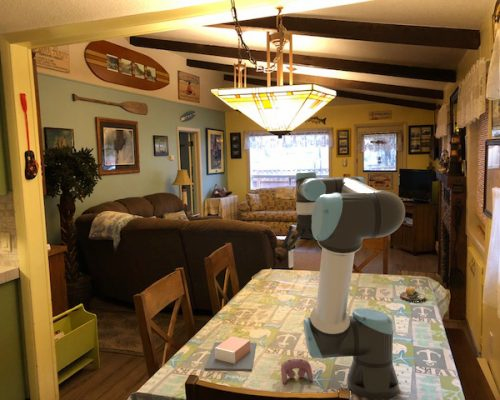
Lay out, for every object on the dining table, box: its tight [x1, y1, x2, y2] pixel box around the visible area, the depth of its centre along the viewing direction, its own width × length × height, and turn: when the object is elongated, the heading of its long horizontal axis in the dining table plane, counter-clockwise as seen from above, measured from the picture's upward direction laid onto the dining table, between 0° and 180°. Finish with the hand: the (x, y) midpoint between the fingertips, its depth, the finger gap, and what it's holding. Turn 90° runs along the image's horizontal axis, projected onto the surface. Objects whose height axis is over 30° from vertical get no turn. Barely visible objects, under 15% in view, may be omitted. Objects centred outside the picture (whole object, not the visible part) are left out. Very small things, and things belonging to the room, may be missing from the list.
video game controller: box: [280, 358, 314, 384], centre depth 134 cm, size 10×5×7 cm, turn 94°
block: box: [215, 335, 251, 364], centre depth 150 cm, size 4×8×11 cm
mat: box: [204, 341, 257, 372], centre depth 151 cm, size 20×16×1 cm
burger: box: [399, 285, 427, 303], centre depth 206 cm, size 12×12×8 cm
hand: (307, 269), depth 157 cm, fingers open, 13 cm apart
